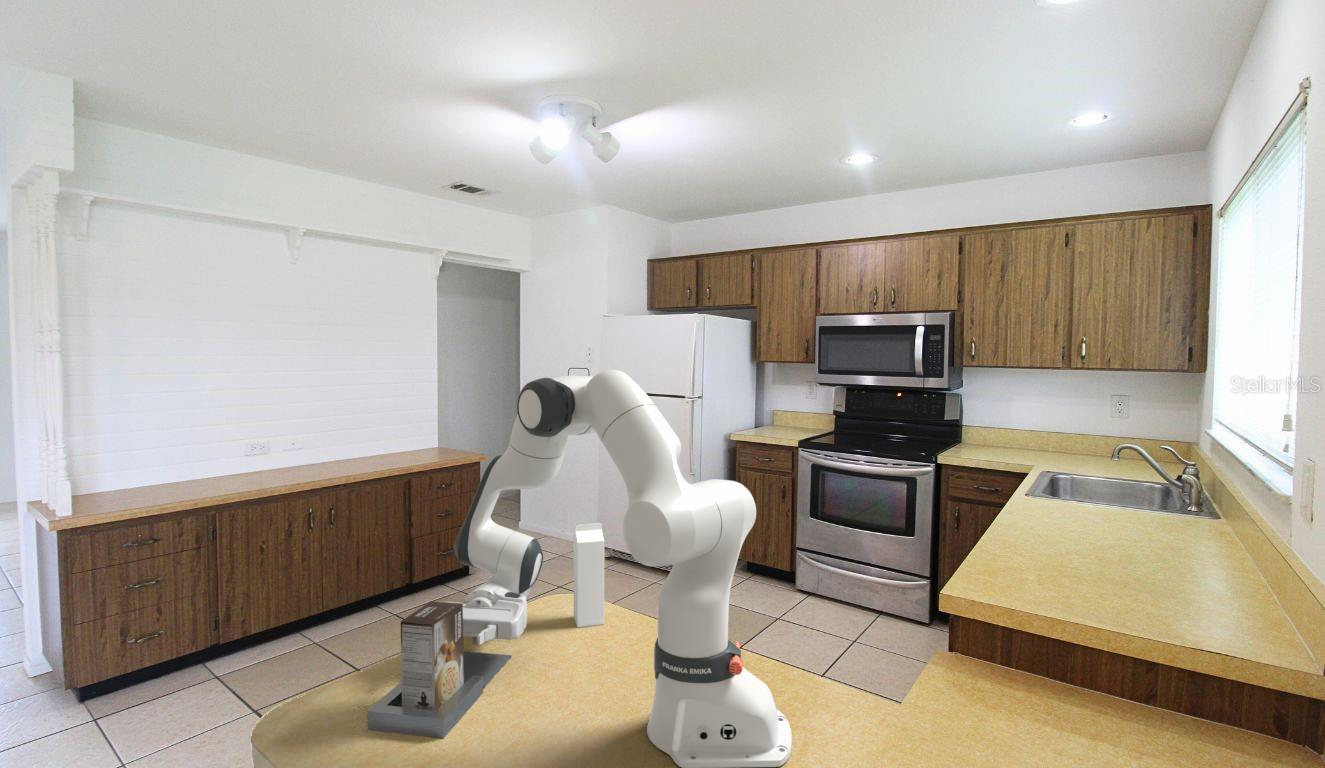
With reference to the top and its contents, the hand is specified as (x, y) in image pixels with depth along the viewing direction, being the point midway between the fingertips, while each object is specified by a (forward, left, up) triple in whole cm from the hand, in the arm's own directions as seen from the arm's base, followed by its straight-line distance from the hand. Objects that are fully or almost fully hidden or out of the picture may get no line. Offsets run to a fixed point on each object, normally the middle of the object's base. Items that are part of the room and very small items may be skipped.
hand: (451, 638), depth 111 cm
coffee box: (0, +6, -9) cm, 11 cm away
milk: (-16, -32, -9) cm, 37 cm away
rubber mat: (0, -7, -9) cm, 11 cm away
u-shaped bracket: (0, +7, -9) cm, 12 cm away
